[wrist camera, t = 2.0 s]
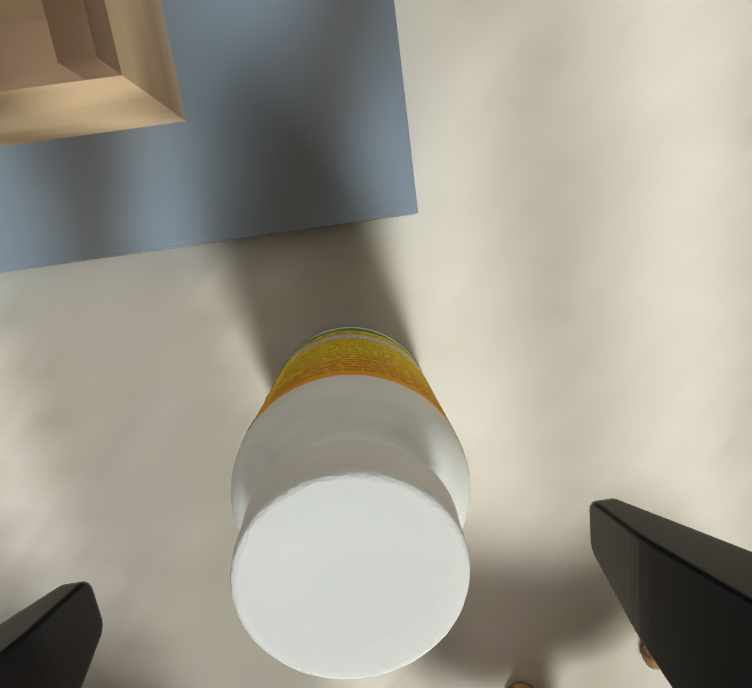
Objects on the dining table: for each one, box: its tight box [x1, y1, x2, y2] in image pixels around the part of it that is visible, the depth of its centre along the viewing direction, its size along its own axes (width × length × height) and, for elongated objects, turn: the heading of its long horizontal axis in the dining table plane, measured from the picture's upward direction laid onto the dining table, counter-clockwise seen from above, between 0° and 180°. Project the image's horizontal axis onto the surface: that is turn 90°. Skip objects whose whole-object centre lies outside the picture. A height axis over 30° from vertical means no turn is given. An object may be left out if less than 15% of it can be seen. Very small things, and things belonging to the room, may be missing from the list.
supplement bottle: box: [230, 327, 470, 679], centre depth 12 cm, size 5×5×10 cm
